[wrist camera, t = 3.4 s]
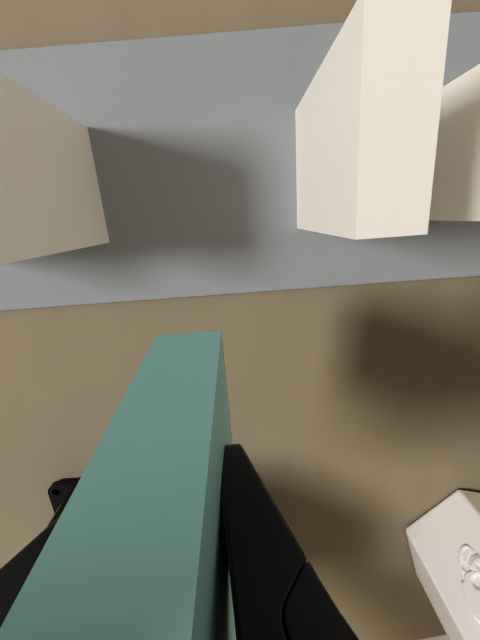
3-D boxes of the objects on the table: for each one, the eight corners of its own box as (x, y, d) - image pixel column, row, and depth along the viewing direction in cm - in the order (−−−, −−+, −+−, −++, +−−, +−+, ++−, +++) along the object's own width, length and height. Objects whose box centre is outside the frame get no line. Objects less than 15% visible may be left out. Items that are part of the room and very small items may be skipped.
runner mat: (535, 270, 17) (540, 271, 16) (-165, 321, 17) (-172, 323, 17) (590, 6, 13) (598, 1, 13) (-283, 77, 14) (-294, 74, 13)
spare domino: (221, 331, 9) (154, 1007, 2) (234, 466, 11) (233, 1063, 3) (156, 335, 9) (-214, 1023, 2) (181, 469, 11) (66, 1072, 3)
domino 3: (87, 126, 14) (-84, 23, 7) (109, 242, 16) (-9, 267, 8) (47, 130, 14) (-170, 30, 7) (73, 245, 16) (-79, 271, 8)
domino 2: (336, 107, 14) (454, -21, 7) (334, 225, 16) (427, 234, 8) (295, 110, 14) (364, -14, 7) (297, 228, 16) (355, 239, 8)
